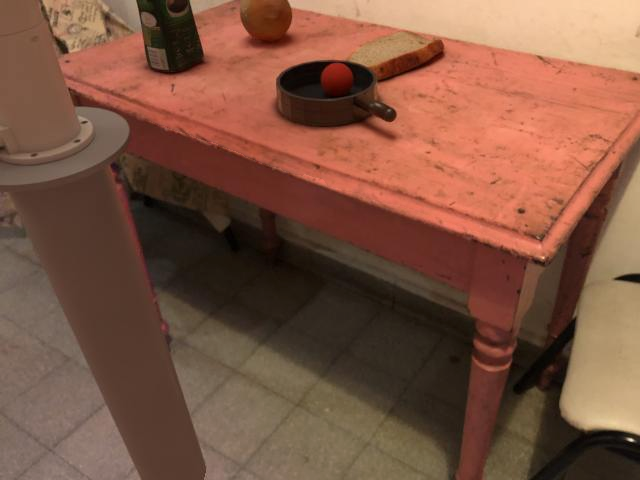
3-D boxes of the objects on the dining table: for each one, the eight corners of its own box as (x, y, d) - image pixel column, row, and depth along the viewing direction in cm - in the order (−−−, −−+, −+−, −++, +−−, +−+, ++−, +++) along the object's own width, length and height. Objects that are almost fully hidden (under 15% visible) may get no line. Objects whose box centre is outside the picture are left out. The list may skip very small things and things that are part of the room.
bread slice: (344, 85, 97) (343, 62, 94) (344, 45, 110) (343, 25, 108) (454, 82, 97) (456, 60, 94) (440, 43, 110) (441, 23, 108)
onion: (232, 42, 113) (224, -14, 107) (269, 28, 119) (263, -26, 113) (267, 53, 108) (261, -5, 102) (304, 38, 114) (300, -18, 108)
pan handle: (388, 126, 80) (389, 112, 79) (351, 107, 85) (351, 93, 84) (399, 121, 81) (400, 108, 80) (361, 103, 86) (361, 90, 85)
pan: (318, 136, 83) (316, 110, 81) (259, 102, 92) (256, 77, 90) (397, 105, 90) (398, 80, 88) (335, 76, 100) (334, 52, 97)
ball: (330, 84, 87) (347, 56, 88) (309, 81, 90) (324, 54, 91) (349, 104, 91) (364, 77, 91) (327, 101, 94) (342, 75, 95)
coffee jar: (180, 51, 110) (158, -61, 98) (211, 59, 106) (192, -55, 94) (140, 68, 104) (110, -48, 92) (171, 77, 100) (144, -42, 88)
